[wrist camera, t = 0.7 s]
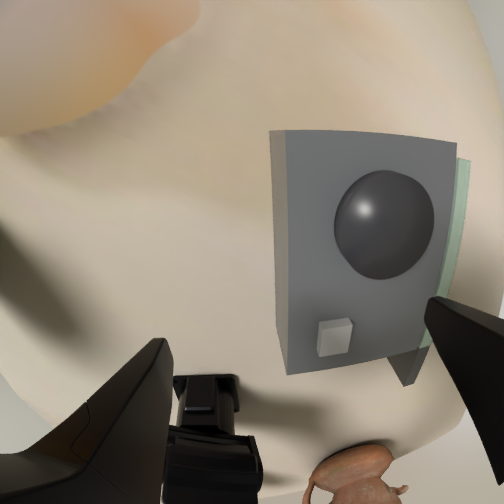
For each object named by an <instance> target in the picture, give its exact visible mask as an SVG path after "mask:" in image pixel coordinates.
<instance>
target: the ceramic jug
mask: <svg viewBox="0 0 504 504" xmlns="http://www.w3.org/2000/svg"><path fill="white" fill-rule="evenodd" d="M393 460H394V457H393V456H392V453H391V452H390V450H389V449H388V448H386V447H385V446H382V445H375V444H371V445H362V446H358V447H354V448H350V449H347V450H344V451H342V452H339V453H337V454H335V455H333V456H331V457H330V458H328V459H326V460H325V461H323V462H322V463H321V464H319V465H318V466H317V467H316V468H315V470H314V471H313V472H312V475H311V477H310V478H309V485H308V488H307V489H306V492H305V494H304V496H303V501H302V504H310V498H311V493H312V491H313V488H314V485H315V486H317V487H318V488H320V489H322V490H326V491H329V492H332V493H333V494H334V496H333V500H332V501H331V502H330V503H329V504H402V503H401V500H400V499H399V497H398V496H397V495H400V494H403V493H405V492H406V491H407V490H408V486H407V485H403V486H402V487H400V488H395V487H389V486H388V485H387V484H386V483H385V482H384V481H383V480H381V476H382V475H383V473H384V472H385V471H386V470H387V468H388V467H389V466H390V464H391V462H392V461H393Z"/></svg>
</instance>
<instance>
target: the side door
mask: <svg viewBox="0 0 504 504" xmlns="http://www.w3.org/2000/svg"><path fill="white" fill-rule="evenodd" d="M470 164H471V161H469V160H465V159H461V158H457V157H456V171H455V183H454V194H453V203H452V210H451V218H450V224H449V230H448V236H447V242H446V247H445V252H444V257H443V262H442V266H441V270H440V275H439V279H438V283H437V287H436V290H435V294H434V297H435V296H441V297H444V298H447V295H448V291H449V288H450V284H451V280H452V277H453V273H454V269H455V265H456V260H457V256H458V251H459V247H460V242H461V236H462V231H463V225H464V219H465V212H466V205H467V197H468V188H469V178H470ZM431 342H432V338H431V336H430V334H429V331H428V329H427V327H426V325H425V327H424V330H423V333H422V336H421V339H420V342H419V344H418V347H417V349H416V350H412V351H409V352H405V353H401V354H397V355H393V356H389V357H387V359H388V360H389V362H390V364H391V366H392V367H393V369H394V371H395V372H396V374H397V376H398V378H399V380H400V381H401V383H402V385H403V387H404V386H408V385H411V384H414V382H415V380H416V378H417V375H418V373H419V371H420V369H421V366H422V364H423V362H424V359H425V357H426V355H427V352H428V350H429V347H430V345H431Z"/></svg>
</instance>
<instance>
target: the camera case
mask: <svg viewBox="0 0 504 504" xmlns="http://www.w3.org/2000/svg"><path fill="white" fill-rule="evenodd" d="M269 133H270V153H271V174H272V197H273V223H274V255H275V295H276V327H277V332H278V337H279V341H280V346H281V350H282V355H283V360H284V364H285V369H286V374H287V375H291V374H299V373H306V372H313V371H319V370H325V369H331V368H337V367H343V366H348V365H353V364H358V363H363V362H367V361H372V360H376V359H381V358H385V357H389V356H393V355H397V354H401V353H405V352H409V351H412V350H416V349H417V347H418V344H419V342H420V339H421V336H422V333H423V330H424V327H425V323H424V314H425V310H426V306H427V302H428V300H429V298H431V297H434V294H435V290H436V287H437V283H438V279H439V275H440V270H441V266H442V262H443V257H444V252H445V247H446V242H447V236H448V230H449V224H450V218H451V210H452V203H453V194H454V183H455V171H456V150H457V143H453V142H447V141H441V140H434V139H428V138H420V137H413V136H404V135H395V134H384V133H372V132H356V131H333V130H278V131H269Z"/></svg>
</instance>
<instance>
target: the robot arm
mask: <svg viewBox="0 0 504 504" xmlns="http://www.w3.org/2000/svg"><path fill="white" fill-rule="evenodd" d="M424 323H425V325H426V327H427V329H428V331H429V334H430V336H431V338H432V340H433V342H434V345H435V347H436V349H437V351H438V353H439V355H440V357H441V359H442V361H443V363H444V365H445V366H446V368H447V370H448V372H449V374H450V376H451V378H452V379H453V381H454V383H455V385H456V387H457V389H458V391H459V393H460V395H461V397H462V399H463V401H464V403H465V405H466V407H467V409H468V411H469V414H470V416H471V418H472V420H473V422H474V424H475V427H476V429H477V431H478V434H479V436H480V438H481V441H482V443H483V446H484V448H485V451H486V453H487V456H488V458H489V461H490V464H491V467H492V469H493V472H494V475H495V478H496V481H497V483H498V485H501V484H502V483H503V482H504V319H501V318H499V317H496V316H493V315H491V314H488V313H485V312H483V311H480V310H477V309H474V308H472V307H469V306H466V305H463V304H461V303H458V302H455V301H452V300H450V299H447V298H444V297H441V296H435V297H431V298H429V300H428V302H427V306H426V310H425V314H424ZM173 365H174V362H173V356H172V353H171V351H170V348H169V345H168V342H167V340H166V339H165V338H153V339H152V340H151V341H150V342H149V343H147V344H146V345H145V346H144V347H143V348H142V349H141V350H140V351H139V352H138V353H137V354H136V355H135V356H134V357H132V358H131V359H130V360H129V361H128V362H127V363H126V364H125V365H124V366H123V367H122V368H121V369H120V370H119V371H118V372H117V373H115V374H114V375H113V376H112V377H111V378H110V379H109V380H108V381H107V382H106V383H105V384H104V385H103V386H102V387H101V388H99V389H98V390H97V391H96V392H95V393H94V394H93V395H92V396H91V397H90V398H89V399H88V400H87V403H86V402H85V403H83V404H82V405H81V406H80V407H79V408H78V409H77V410H76V411H75V412H74V413H73V414H71V415H70V416H69V417H68V418H67V419H66V420H65V421H63V422H62V423H61V424H60V425H58V426H57V427H56V428H55V429H53V430H52V431H51V432H49V433H48V434H47V435H45V436H44V437H43V438H41V439H40V440H39V441H38V442H36V443H35V444H34V445H32V446H31V447H29V448H28V449H26V450H24V451H21V452H18V453H13V454H0V504H160V497H161V501H162V503H163V504H258V497H257V493H258V492H259V491H260V489H261V486H262V481H263V466H262V462H261V459H260V455H259V452H258V448H257V445H256V441H255V438H254V436H249V435H248V436H240V435H235V430H234V413H236V412H239V402H238V396H237V390H236V384H235V377H234V376H233V375H230V374H228V375H207V376H173ZM173 388H174V390H175V393H176V395H177V398H178V400H179V407H178V415H177V423H176V426H173V425H169V422H170V415H171V408H172V392H173ZM162 484H163V486H162ZM161 487H162V496H161Z"/></svg>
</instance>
